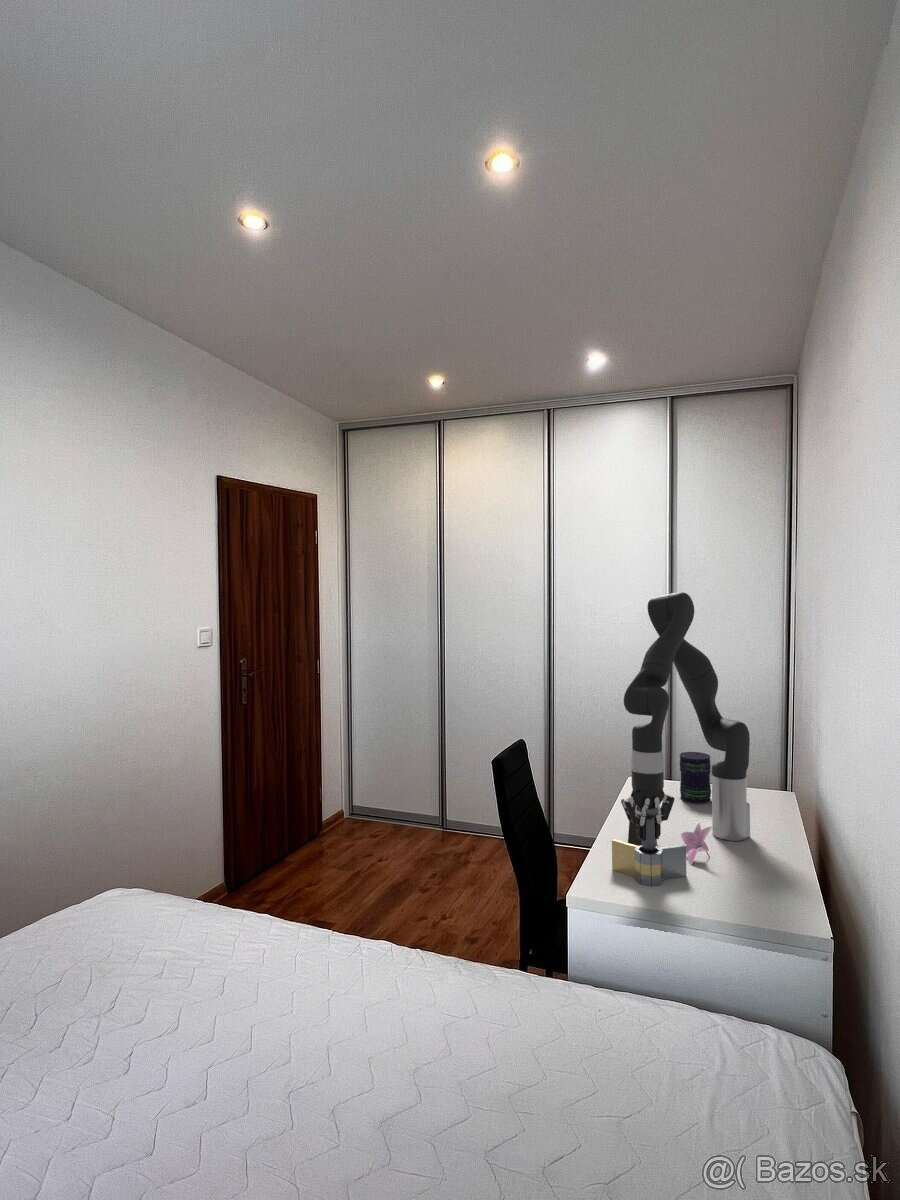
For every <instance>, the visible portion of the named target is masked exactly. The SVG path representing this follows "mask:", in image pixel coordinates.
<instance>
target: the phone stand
mask: <svg viewBox="0 0 900 1200" xmlns="http://www.w3.org/2000/svg"><path fill="white" fill-rule="evenodd" d="M632 808H633V811H634V813H635V808H636V804H635V803H634V802H633V807H632ZM635 815H636V813H635ZM627 843H629V844H633V845H636V846H640V845H642V841H641V840H640V839H639V838H638V837H637V835H636V824H634V823H632V822H631V821H629V820H628V833H627ZM657 844H658V839H655V846H657Z"/></svg>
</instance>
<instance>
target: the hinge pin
mask: <svg viewBox="0 0 900 1200" xmlns="http://www.w3.org/2000/svg"><path fill="white" fill-rule="evenodd" d="M638 811H640V812H642V809H639V808H638ZM645 812H646V817H645V823H644V826H645V841H642V852H643V853H649V854H652V853H656V848H655V846H656V845H655V815H658V808H655V807H654V808H648V809H646V811H645Z"/></svg>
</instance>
